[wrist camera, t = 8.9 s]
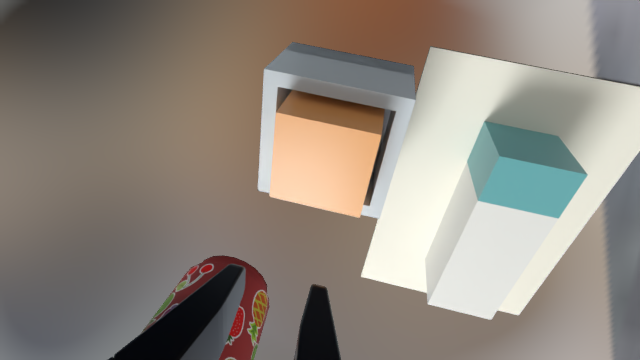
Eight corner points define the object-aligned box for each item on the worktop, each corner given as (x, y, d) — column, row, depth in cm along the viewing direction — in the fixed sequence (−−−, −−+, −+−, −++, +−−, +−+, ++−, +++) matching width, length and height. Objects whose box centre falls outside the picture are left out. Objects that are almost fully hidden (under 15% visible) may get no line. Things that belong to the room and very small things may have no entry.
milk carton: (480, 272, 24) (491, 319, 21) (424, 259, 24) (427, 304, 21) (558, 136, 18) (588, 174, 15) (484, 120, 18) (499, 156, 15)
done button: (365, 182, 18) (359, 218, 16) (286, 164, 18) (269, 196, 16) (385, 106, 16) (381, 134, 13) (294, 87, 16) (275, 112, 14)
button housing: (383, 169, 21) (379, 218, 17) (282, 147, 22) (257, 190, 18) (413, 65, 18) (416, 100, 14) (292, 42, 18) (264, 68, 14)
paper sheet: (517, 312, 25) (518, 315, 25) (361, 274, 26) (360, 276, 26) (677, 93, 16) (680, 95, 16) (430, 45, 17) (430, 47, 17)
